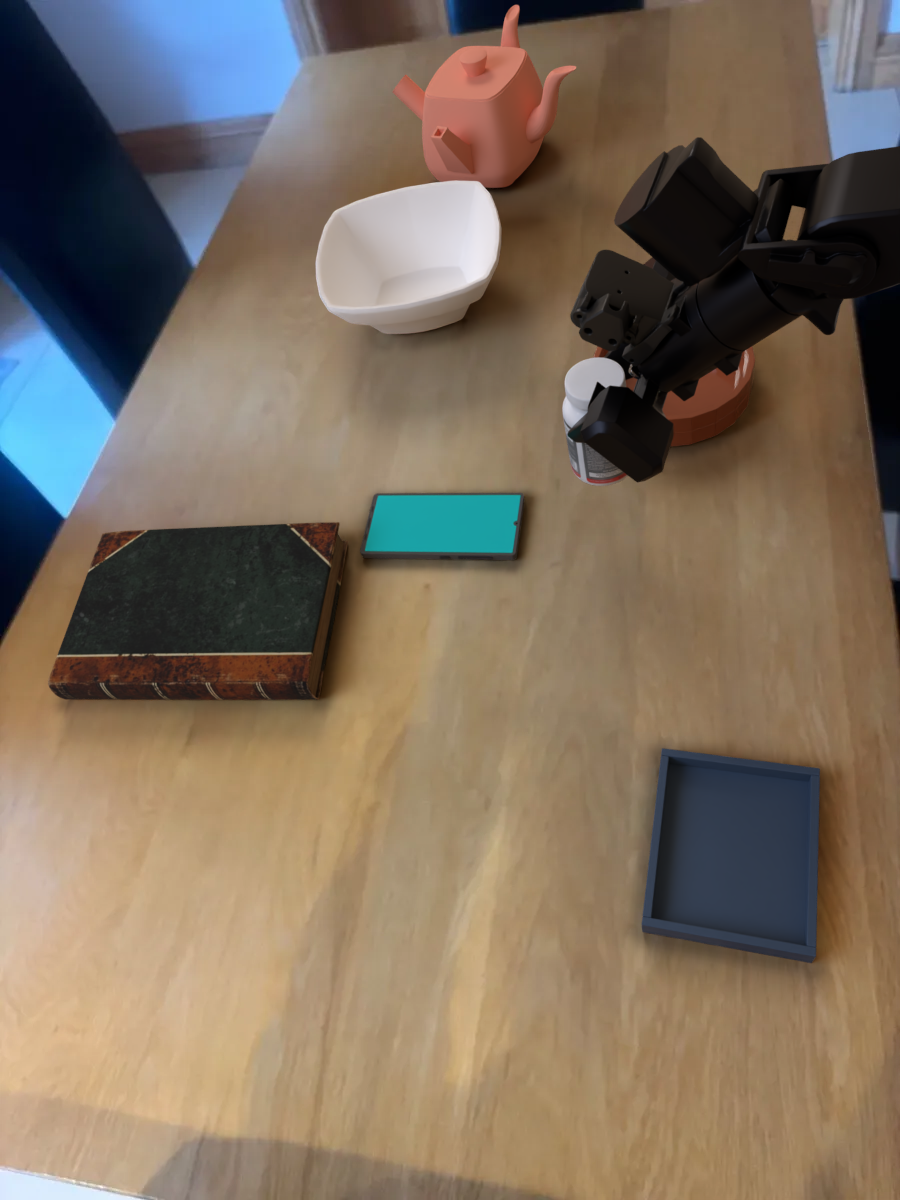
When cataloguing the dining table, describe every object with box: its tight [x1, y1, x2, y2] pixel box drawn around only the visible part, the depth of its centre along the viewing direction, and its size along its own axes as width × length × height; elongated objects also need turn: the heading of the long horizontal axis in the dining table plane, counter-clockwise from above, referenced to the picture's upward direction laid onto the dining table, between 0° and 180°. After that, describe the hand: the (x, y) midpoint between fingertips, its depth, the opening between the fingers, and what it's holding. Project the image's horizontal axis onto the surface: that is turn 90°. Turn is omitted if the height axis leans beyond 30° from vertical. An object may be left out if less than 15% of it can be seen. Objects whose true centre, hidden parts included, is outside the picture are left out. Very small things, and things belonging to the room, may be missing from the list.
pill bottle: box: [561, 357, 629, 487], centre depth 75 cm, size 6×6×10 cm
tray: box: [641, 747, 821, 964], centre depth 65 cm, size 13×11×2 cm
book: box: [47, 521, 349, 701], centre depth 85 cm, size 17×4×25 cm
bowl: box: [315, 181, 502, 335], centre depth 102 cm, size 21×21×9 cm
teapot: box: [392, 4, 577, 189], centre depth 113 cm, size 18×18×14 cm
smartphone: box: [359, 492, 526, 561], centre depth 87 cm, size 7×1×15 cm
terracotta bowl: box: [592, 345, 756, 447], centre depth 89 cm, size 15×15×4 cm
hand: (582, 409), depth 74 cm, fingers closed on pill bottle, 6 cm apart
